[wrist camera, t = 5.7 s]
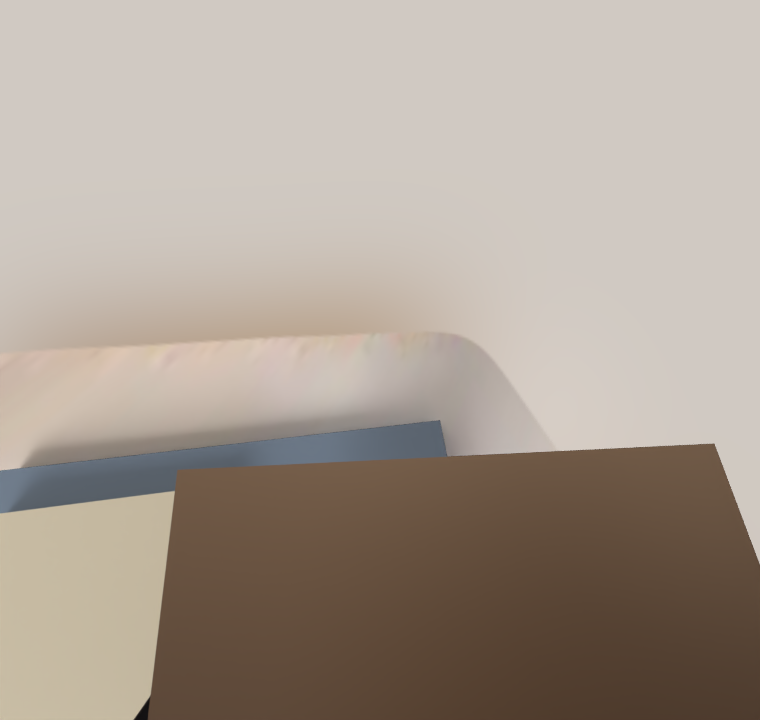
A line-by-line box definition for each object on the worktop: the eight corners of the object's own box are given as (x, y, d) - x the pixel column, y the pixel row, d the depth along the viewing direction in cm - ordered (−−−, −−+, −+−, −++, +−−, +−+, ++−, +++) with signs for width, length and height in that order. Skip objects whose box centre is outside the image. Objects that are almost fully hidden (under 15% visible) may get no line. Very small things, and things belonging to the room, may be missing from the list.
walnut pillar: (441, 665, 14) (1075, 1404, 2) (292, 683, 13) (7, 1890, 1) (425, 510, 16) (714, 443, 4) (294, 519, 15) (178, 470, 3)
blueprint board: (435, 424, 22) (447, 412, 20) (493, 726, 17) (518, 757, 15) (15, 473, 19) (-28, 465, 17) (-54, 860, 14) (-128, 924, 12)
